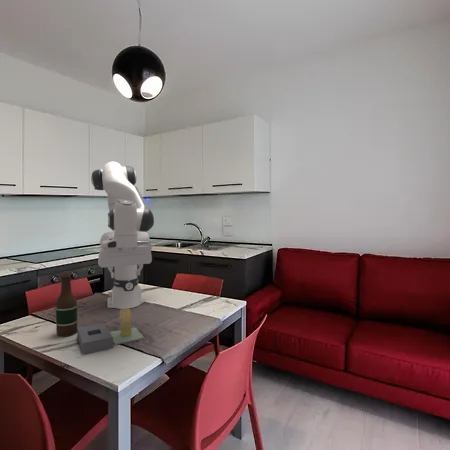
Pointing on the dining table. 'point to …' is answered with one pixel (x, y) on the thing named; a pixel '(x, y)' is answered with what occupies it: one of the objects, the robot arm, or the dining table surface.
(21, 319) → the dining table surface
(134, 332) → the green mat
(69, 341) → the dining table surface
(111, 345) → the grey slotted block
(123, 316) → the brass peg
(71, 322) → the beer bottle
